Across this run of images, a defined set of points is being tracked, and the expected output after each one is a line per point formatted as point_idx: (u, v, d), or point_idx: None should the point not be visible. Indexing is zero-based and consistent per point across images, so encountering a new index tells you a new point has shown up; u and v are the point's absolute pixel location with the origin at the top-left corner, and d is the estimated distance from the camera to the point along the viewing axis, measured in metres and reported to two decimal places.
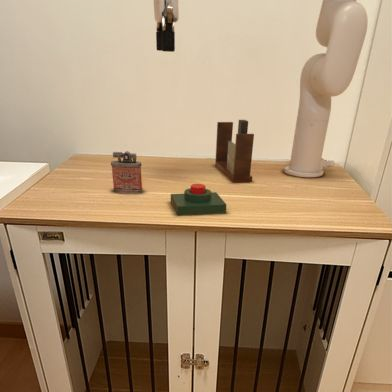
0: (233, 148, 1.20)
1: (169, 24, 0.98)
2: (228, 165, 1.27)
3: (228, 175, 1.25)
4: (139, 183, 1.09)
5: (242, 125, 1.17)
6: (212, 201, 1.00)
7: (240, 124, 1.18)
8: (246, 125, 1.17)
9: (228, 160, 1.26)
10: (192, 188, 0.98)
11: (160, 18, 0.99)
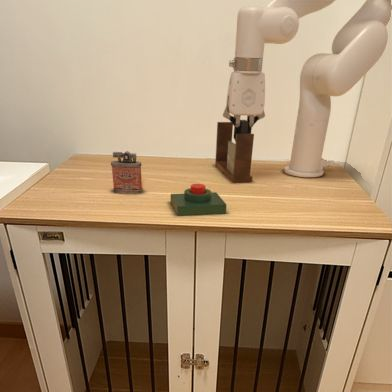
0: (233, 148, 1.20)
1: (232, 121, 1.17)
2: (228, 165, 1.27)
3: (228, 175, 1.25)
4: (139, 183, 1.09)
5: (242, 125, 1.17)
6: (212, 201, 1.00)
7: (240, 124, 1.18)
8: (246, 125, 1.17)
9: (228, 160, 1.26)
10: (192, 188, 0.98)
11: None
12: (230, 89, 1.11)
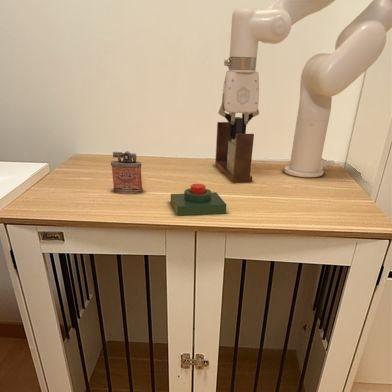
0: (233, 148, 1.20)
1: None
2: (228, 165, 1.27)
3: (228, 175, 1.25)
4: (139, 183, 1.09)
5: (237, 123, 1.21)
6: (212, 201, 1.00)
7: (235, 121, 1.22)
8: (241, 122, 1.21)
9: (228, 160, 1.26)
10: (192, 188, 0.98)
11: None
12: (225, 87, 1.15)
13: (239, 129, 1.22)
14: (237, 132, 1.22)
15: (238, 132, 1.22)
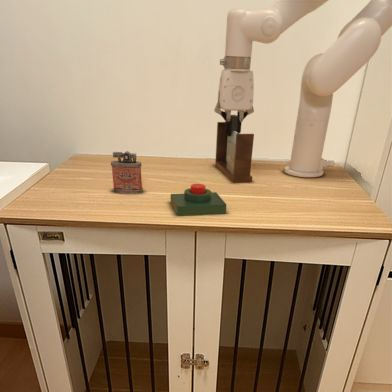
0: (233, 148, 1.20)
1: (223, 116, 1.25)
2: (228, 165, 1.27)
3: (228, 175, 1.25)
4: (139, 183, 1.09)
5: (232, 120, 1.25)
6: (212, 201, 1.00)
7: (230, 118, 1.25)
8: (236, 120, 1.25)
9: (228, 160, 1.26)
10: (192, 188, 0.98)
11: None
12: (221, 86, 1.19)
13: (234, 126, 1.26)
14: (232, 129, 1.26)
15: (233, 129, 1.26)
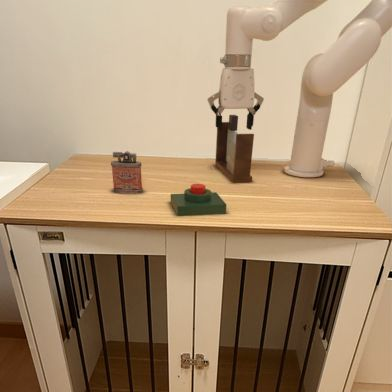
0: (233, 148, 1.20)
1: None
2: (228, 165, 1.27)
3: (228, 175, 1.25)
4: (139, 183, 1.09)
5: (232, 120, 1.25)
6: (212, 201, 1.00)
7: (230, 118, 1.25)
8: (236, 120, 1.25)
9: (228, 160, 1.26)
10: (192, 188, 0.98)
11: None
12: (221, 84, 1.18)
13: (234, 126, 1.26)
14: (232, 129, 1.26)
15: (233, 129, 1.26)
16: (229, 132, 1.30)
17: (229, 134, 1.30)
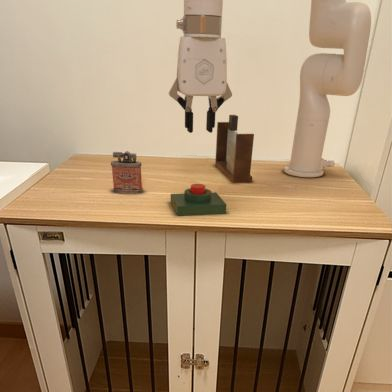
0: (233, 148, 1.20)
1: (181, 104, 0.88)
2: (228, 165, 1.27)
3: (228, 175, 1.25)
4: (139, 183, 1.09)
5: (232, 120, 1.25)
6: (212, 201, 1.00)
7: (230, 118, 1.25)
8: (236, 120, 1.25)
9: (228, 160, 1.26)
10: (192, 188, 0.98)
11: None
12: (179, 60, 0.82)
13: (234, 126, 1.26)
14: (232, 129, 1.26)
15: (233, 129, 1.26)
16: (229, 132, 1.30)
17: (229, 134, 1.30)
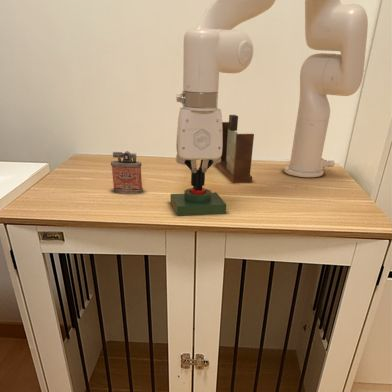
0: (233, 148, 1.20)
1: None
2: (228, 165, 1.27)
3: (228, 175, 1.25)
4: (139, 183, 1.09)
5: (232, 120, 1.25)
6: (212, 201, 1.00)
7: (230, 118, 1.25)
8: (236, 120, 1.25)
9: (228, 160, 1.26)
10: (192, 191, 0.99)
11: None
12: (179, 129, 0.90)
13: (234, 126, 1.26)
14: (232, 129, 1.26)
15: (233, 129, 1.26)
16: (229, 132, 1.30)
17: (229, 134, 1.30)
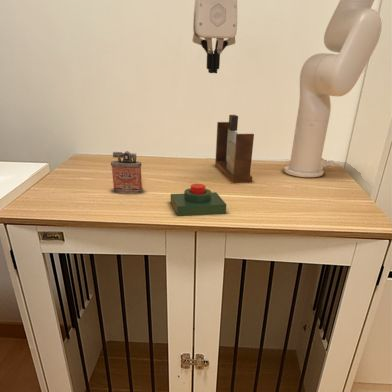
0: (233, 148, 1.20)
1: None
2: (228, 165, 1.27)
3: (228, 175, 1.25)
4: (139, 183, 1.09)
5: (232, 120, 1.25)
6: (212, 201, 1.00)
7: (230, 118, 1.25)
8: (236, 120, 1.25)
9: (228, 160, 1.26)
10: (192, 188, 0.98)
11: None
12: (196, 4, 0.95)
13: (234, 126, 1.26)
14: (232, 129, 1.26)
15: (233, 129, 1.26)
16: (229, 132, 1.30)
17: (229, 134, 1.30)
